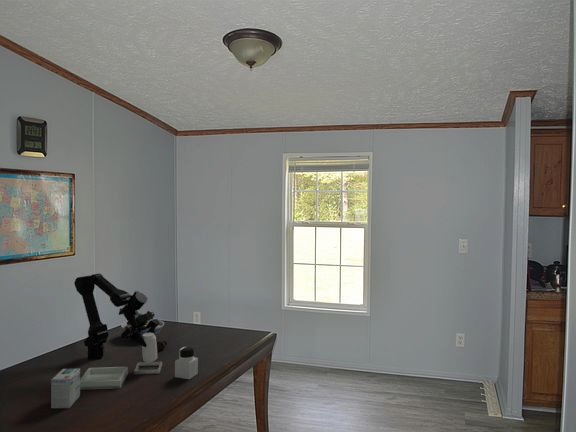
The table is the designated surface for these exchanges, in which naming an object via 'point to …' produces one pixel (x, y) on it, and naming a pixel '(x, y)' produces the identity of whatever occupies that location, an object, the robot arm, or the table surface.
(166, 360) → the table surface
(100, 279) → the robot arm
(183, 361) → the medicine bottle
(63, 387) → the light bulb box
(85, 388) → the tray
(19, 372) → the table surface
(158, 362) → the grey square frame
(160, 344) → the bolt
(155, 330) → the ramen bowl
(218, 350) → the table surface
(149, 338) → the beverage can
